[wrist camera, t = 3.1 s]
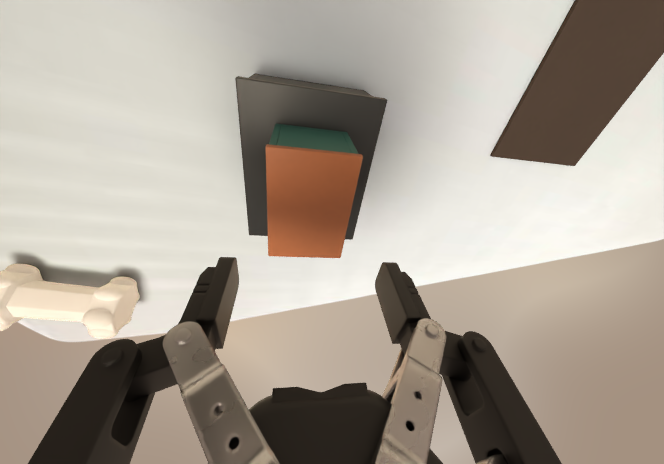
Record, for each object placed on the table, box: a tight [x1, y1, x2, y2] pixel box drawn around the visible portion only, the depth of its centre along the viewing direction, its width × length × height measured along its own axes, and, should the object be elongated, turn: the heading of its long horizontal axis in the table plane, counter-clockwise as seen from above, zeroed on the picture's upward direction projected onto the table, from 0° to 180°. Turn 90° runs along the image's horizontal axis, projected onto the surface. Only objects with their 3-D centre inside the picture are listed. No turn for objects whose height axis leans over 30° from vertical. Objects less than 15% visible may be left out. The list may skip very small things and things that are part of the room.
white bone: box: [0, 264, 140, 339], centre depth 33 cm, size 15×9×8 cm, turn 70°
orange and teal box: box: [266, 124, 363, 258], centre depth 20 cm, size 9×6×6 cm
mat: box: [491, 0, 664, 166], centre depth 27 cm, size 16×13×1 cm
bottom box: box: [236, 74, 387, 239], centre depth 25 cm, size 15×12×7 cm
